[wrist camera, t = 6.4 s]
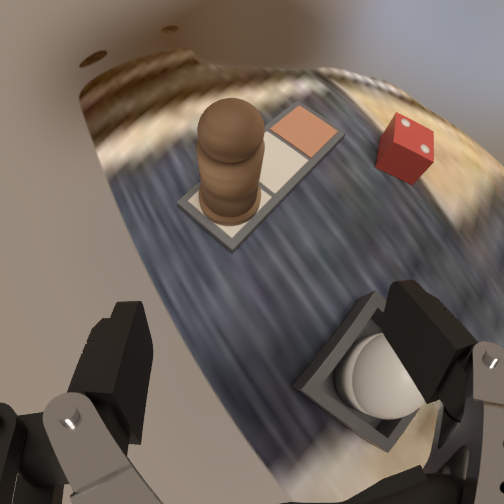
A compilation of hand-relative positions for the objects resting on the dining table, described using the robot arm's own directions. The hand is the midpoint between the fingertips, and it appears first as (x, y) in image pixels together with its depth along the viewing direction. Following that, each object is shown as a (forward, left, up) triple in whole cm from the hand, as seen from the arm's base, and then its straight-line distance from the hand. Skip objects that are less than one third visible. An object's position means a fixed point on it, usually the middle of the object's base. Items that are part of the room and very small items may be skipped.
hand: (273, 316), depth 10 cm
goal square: (-21, -9, -17) cm, 28 cm away
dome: (-5, +11, -16) cm, 20 cm away
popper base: (-5, +11, -17) cm, 21 cm away
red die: (-27, +1, -17) cm, 32 cm away
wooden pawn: (-9, -9, -16) cm, 20 cm away
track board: (-15, -9, -17) cm, 24 cm away
